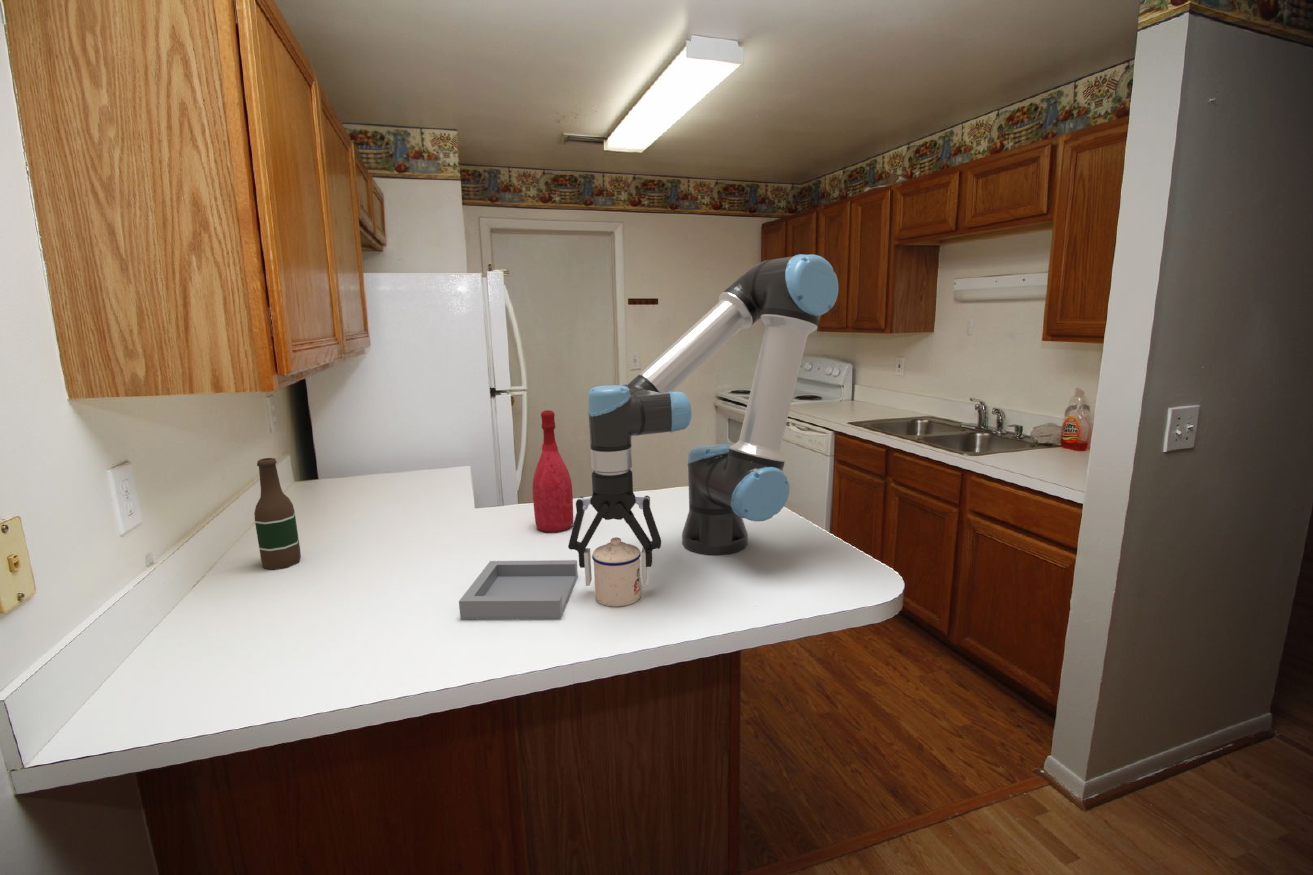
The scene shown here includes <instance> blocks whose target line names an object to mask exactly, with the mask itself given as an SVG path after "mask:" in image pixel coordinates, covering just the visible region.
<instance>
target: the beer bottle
mask: <svg viewBox="0 0 1313 875" xmlns="http://www.w3.org/2000/svg"><path fill="white" fill-rule="evenodd" d="M276 464H277V459H276V458H275V457H265V458H261V459H258V460H257V462H256V466H257V467H258V472H259V473H258V474H259V484H260V486H259V487H260V497H259V499H258V501H257V503H256V504H255V509H254V513H253V514H254V523H255V531H256V538H257V543H258V548H259V556H260V560H261V565H262V569H266V570H267V569H268V570H271V571H274V570H279V569H280V570H281V569H287V568H290V567H292V566H295V565H297V564H299V563H300V560H301V557H302V554H301V545H300V538H299V533H298V525H297V518H296V513H295V507H294V504H293V502H292V500H291V499H290V498H289V497H288V496H287V495H286V494H285V493H284V491H283V489H282V487H281V483H280V482H281V481H280V478H279V474H278V473H279V472H278V469H277V465H276Z"/></svg>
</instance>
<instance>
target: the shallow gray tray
mask: <svg viewBox="0 0 1313 875" xmlns="http://www.w3.org/2000/svg"><path fill="white" fill-rule="evenodd" d="M578 575H579V572H578V560H577V559H573V560H572V559H569V560H568V559H566V560H563V559H561V560H558V559H557V560H556V559H555V560H550V559H549V560H489V562H488V563H487V564H486V566H485V567H484V568H483V569H482V571H481V572H480V573H479V575H478V576H477V578H476V579H475V580H474V581H473V582H472V584H471V585H470V586H469V587H468V589H467V590H466V591H465V593H464V594H463V595H462V597H461V598H460V599H459V600H458V608H459V616H460V617H459V618H460V620H561V619H562V616H563V615H564V612H565V609H566V606H567V604H568V601H569V599H570V597H571V594H572V591H573V589H574V587H575V584H576V581H577V579H578V578H579V576H578Z"/></svg>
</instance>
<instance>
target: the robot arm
mask: <svg viewBox="0 0 1313 875" xmlns="http://www.w3.org/2000/svg"><path fill="white" fill-rule="evenodd" d="M833 267H834V266H832V264H831V263H830V262H829V261H828V260H826V259H825V257H823V256H820V255H817V254H803V253H802V254H801V253H800V254H796V255H794V256H793V255H792V256H786V257H780V258H775V259H774V258H772V259H771V258H770V259H766V260H763V261H762V262H758V263H757V264H755V265H754V266H752V267H751V268H749V269H748V270H747V271H746V272H743V274H741V275H740V277H738V278H737V279H736V280H735V281H734V282H733V283H731V284H730V285H729V286H728V287H727V288H725V289H724V291H722V293H720V294H719V295H718V296H719V297H718V303H716V304H715V305H714V306H712V308H711V309H710V310H709V311H708V312H706V313H705V314H704V315H703V316H702V317H701V318H700V319H699V320H697V321H696V322H695V323H694V324H693V325H692V326H691V327H690V328H689V329H687V331H685V332H684V333H683V334H682V335H681V336H680V337H678V339H676V340H675V341H674V342H673V343H671V345H670V346H669V347H668V348H667V349H666V350H665V351H663V352H662V353H661V354H660V355H659V356H658V357H657V358H656V359H654V360H653V361H652V362H651V363H650V364H649V365H648V366H647V367H646V368H645V369H644V370H643V371H641V372H640V373H639V374H638V375H637V376H635V377H634V378H633V379H632V380H631V381H630V382H628V383H627V384H626V383H624V384H621V385H618V384H614V385H613V384H612V385H610V384H608V385H599V386H595V387H592V388H591V389H590V390H589V391H588V392H589V393H588V399H587V400H588V402H587V415H588V424H589V425H588V428H589V440H590V448H589V450H590V467H591V470H592V472H591V487H592V488H591V489H592V490H591V491H592V495H591V497H583V496H579V497H578V498H577V499H576V501H575V508H576V514H575V517H574V518H575V519H574V520H573V524H572V529H571V534H570V537H569V541H568V544H567V545H568V549H569V550H575V551H576V552H578V566H579V568H580V569H584V576H585V578H584V579H585V586H587V587H588V586H591V583H592V579H593V577H592V576H593V575H592V561H591V560H592V559H591V558H592V556H591V555H592V554H591V547H587V546H588V545H589V543H590V542H591V539H592V538H593V536H594V534H595V532H596V530H598V527H599V525H600V523H601V521H602V520H603V519H604V520H605V521H610V520H617V521H618V520H619V521H622V519H623V520H624V522H625V524H627V525H628V527H629V528H630V529H631V531H632V533H633V534H634V535H635V537H636V539H637V540H638V541H639V543H640V545H641V551H640V553H641V556H640V559H641V581H642V582H641V583H642V584H641V585H642V586H647V584H648V583H647V582H648V568H652V566H653V551H654V550H656V549H660V548H661V547H662V538H661V536H660V532H659V530H658V527H657V525H656V524H657V523H656V521H655V518H654V516H653V513H652V510H651V497H650V496H649V495H644V496H636V495H635V493H634V484H633V483H634V481H633V471H632V470H631V469H632V467H633V456H632V454H633V453H632V437H637V436H646V435H653V434H655V435H656V434H663V433H674V432H677V431H682V430H685V429H687V428H688V427H689V426H690V423H691V422H692V421H691V420H692V404H691V401H690V399H689V397H688V395H687V394H686V393H684V392H683V391H675V390H677V389H678V387H680V385H682V384H683V383H684V382H685V381H686V380H687V379H689V377H691V375H692V374H694V373H695V372H696V371H697V370H698V369H699V368H700V367H702V366H703V365H704V364H705V363H706V362H707V361H708V360H709V359H710V358H711V357H713V355H715V354H716V353H717V352H718V351H719V350H720V349H721V348H722V347H723V346H724V345H725V344H726V343H728V341H730V340H731V339H732V338H733V337H734V336H735V335H736V334H737V333H738V332H740V330H741V329H749V328H751V327H752V326H753V325H754V324H755V323H756V322H758V321H759V320H761V321H762V323H763V324H764V326H765V327H764V328H765V329H764V332H763V338H762V341H761V342H762V343H761V345H760V350H759V355H758V360H757V362H756V368H755V371H754V375H753V380H752V383H751V384H752V385H751V389H750V392H749V396H748V400H747V405H746V408H745V413H744V416H743V422H742V426H741V431H740V434H739V437H738V440H737V442H735V443H719V444H718V443H717V444H715V443H714V444H707V445H705V444H704V445H700V446H695V447H693V448H691V449H690V450H689V452H688V457H687V467H688V469H687V470H688V471H687V473H688V476H687V477H688V513H687V517H686V519H685V520H686V521H685V522H684V523H685V524H684V525H683V530H682V533H681V534H682V535H681V544H682V545H683V547H684V548H685V549H687V550H689V551H691V552H695V553H698V554H703V555H727V554H733V553H736V552H740V551H741V550H744V549H745V548H746V547H747V546H748V544H749V543H748V541H749V540H748V536H749V535H748V531H747V529H746V525H745V521H744V519H745V520H749V521H751V522H764V521H765V522H766V521H767V520H770V519H772V518H773V516H776V515H778V514H779V513H780V512H781V510H783V509H784V506H785V505H786V503H787V501H788V498H789V496H790V490H791V489H790V488H791V486H790V482H789V481H788V477H787V475H786V474H785V473H784V467H785V462H786V458H785V457H784V456H783V454H782V453H781V448H782V447H781V446H782V442H783V438H784V436H785V434H784V433H785V430H786V426H787V422H788V418H789V414H790V410H791V406H792V401H793V397H794V393H795V390H796V389H795V388H796V385H797V381H798V376H799V372H800V368H801V363H802V360H803V356H804V352H805V347H806V344H807V340H808V339H807V338H808V336H809V335H810V334H812V333H814V332H815V331H816V330H817V329H818V326H819V322H820V318H821V316H822V315H824V314H826V313H828V312H829V311H830V310H831V309H833V307H834V305H835V303H836V302H837V299H838V296H839V281H838V276H837V274H836V272H835V271H834V268H833ZM635 504H636V505H638V508H639V510H642V514H643V517H644V520H645V523H646V526H647V529H648V532H649V534H650V537H651V540H650V538H649V537H648V535H647V534H646V532H645V531H644V529H643V527H642V526H641V524H640V523H639V522H638V520H637V518H636V517H635V514H634V513H633V510H632V509H633V508H634V506H635ZM589 505H591V507H592V508H594V510H595V512H596V514H595V516H594V518H593V520H592V522H591V523H590V525H589V527H588V529H587V530H586V532H585V534H584V536H583V537H582V540H581V541H578V539H579V534H580V531H581V527H582V523H583V519H584V515H585V511H587V509H588V508H589Z"/></svg>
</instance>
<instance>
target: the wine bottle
mask: <svg viewBox="0 0 1313 875" xmlns="http://www.w3.org/2000/svg"><path fill="white" fill-rule="evenodd" d="M540 418H541V429H542V432H543V433H542V434H543V438H542V440H543V441H542V442H543V443H542V445H541V454H540V456H539V459H538V462H537V464H536V468H535V471H534V474H533V478H532V500H533V501H532V502H533V512H534V521H535V526H536V528H537V529H538V530H540V531H542V532H546V533H556V532H563V531H565V530H568V529H569V528H571V527H573V525H574V499H573V498H574V496H573V495H574V494H573V484H572V479H571V475H570V473H569V470H568V467H567V465H566V464H565V461H564V460H563V457H562V456H561V454H560V452H559V448H558V446H557V442H556V435H555V429H556V421H555V412H554V411H553V410H547V409H546V410H542V412H540Z"/></svg>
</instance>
